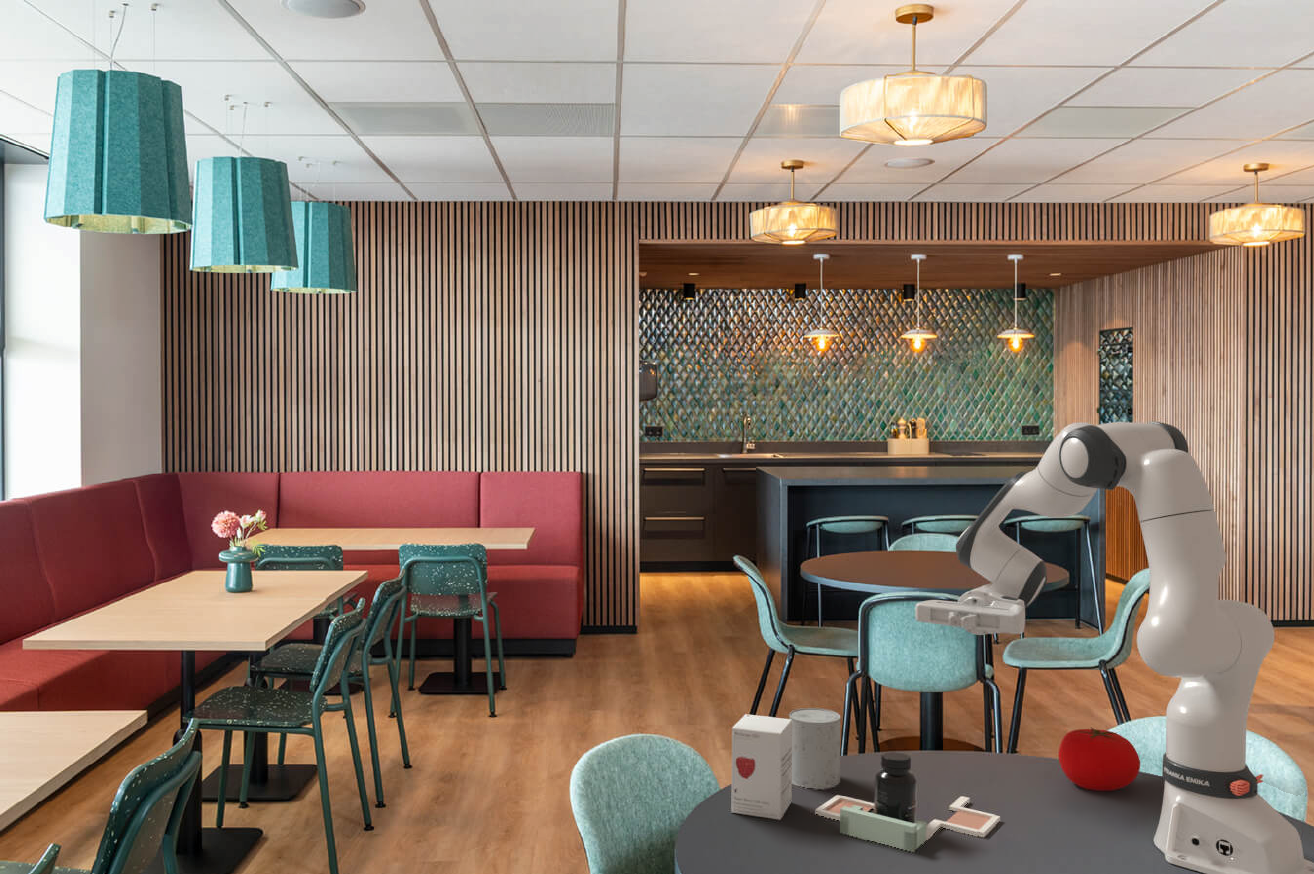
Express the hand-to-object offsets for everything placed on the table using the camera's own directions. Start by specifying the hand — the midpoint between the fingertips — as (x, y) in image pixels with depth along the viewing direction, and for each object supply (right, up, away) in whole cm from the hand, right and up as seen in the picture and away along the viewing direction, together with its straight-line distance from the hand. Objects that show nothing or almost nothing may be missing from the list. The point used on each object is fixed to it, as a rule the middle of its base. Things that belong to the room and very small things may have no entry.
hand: (955, 622), depth 188 cm
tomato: (+26, -30, -1) cm, 40 cm away
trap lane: (-13, -30, -16) cm, 37 cm away
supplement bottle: (-16, -30, -21) cm, 40 cm away
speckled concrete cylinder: (-26, -30, +1) cm, 40 cm away
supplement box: (-37, -30, -12) cm, 50 cm away
